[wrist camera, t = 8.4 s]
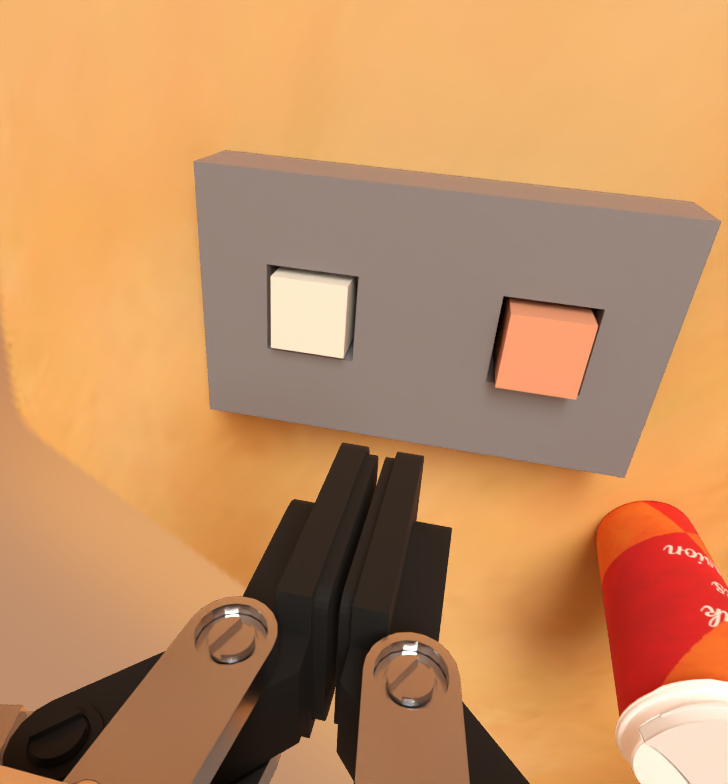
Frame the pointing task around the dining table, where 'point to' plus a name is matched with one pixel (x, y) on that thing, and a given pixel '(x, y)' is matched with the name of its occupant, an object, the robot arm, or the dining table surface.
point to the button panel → (443, 301)
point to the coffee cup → (666, 644)
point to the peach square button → (543, 347)
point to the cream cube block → (313, 311)
